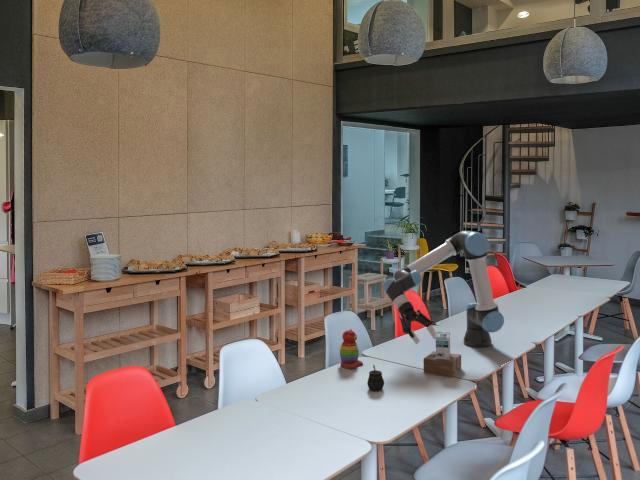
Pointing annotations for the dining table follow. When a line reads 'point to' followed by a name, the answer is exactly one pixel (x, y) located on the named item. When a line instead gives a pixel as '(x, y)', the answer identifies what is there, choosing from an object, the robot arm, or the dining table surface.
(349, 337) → the stacking bear
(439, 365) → the walnut block
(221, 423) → the dining table surface
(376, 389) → the mate gourd
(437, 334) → the light bulb box
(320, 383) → the dining table surface
